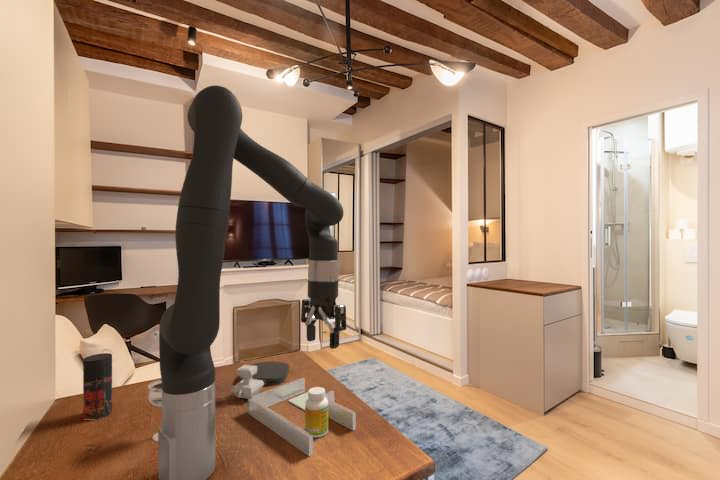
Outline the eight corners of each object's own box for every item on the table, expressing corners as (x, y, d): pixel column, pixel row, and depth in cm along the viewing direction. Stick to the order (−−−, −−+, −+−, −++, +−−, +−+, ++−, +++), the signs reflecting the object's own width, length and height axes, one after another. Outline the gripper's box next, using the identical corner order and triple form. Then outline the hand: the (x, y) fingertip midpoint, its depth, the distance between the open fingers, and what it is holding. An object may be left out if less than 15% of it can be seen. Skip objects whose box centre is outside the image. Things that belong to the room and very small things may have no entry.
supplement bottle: (324, 439, 76) (324, 396, 76) (301, 436, 77) (301, 394, 77) (331, 426, 81) (331, 386, 81) (310, 424, 82) (309, 384, 82)
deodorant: (78, 417, 86) (78, 358, 86) (104, 407, 91) (104, 352, 91) (90, 422, 83) (90, 362, 83) (116, 412, 88) (116, 355, 89)
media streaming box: (290, 368, 119) (290, 360, 119) (283, 386, 105) (283, 376, 105) (248, 369, 118) (248, 361, 118) (236, 387, 104) (236, 378, 104)
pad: (308, 412, 88) (308, 411, 88) (288, 401, 94) (288, 400, 94) (328, 403, 93) (328, 401, 93) (308, 393, 99) (308, 391, 99)
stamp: (249, 404, 92) (249, 374, 92) (228, 401, 94) (228, 371, 94) (266, 390, 101) (266, 362, 101) (247, 388, 103) (247, 360, 103)
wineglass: (151, 429, 80) (151, 379, 80) (183, 424, 82) (183, 375, 82) (144, 446, 74) (144, 391, 74) (179, 439, 76) (179, 386, 76)
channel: (309, 456, 70) (309, 437, 70) (247, 413, 88) (247, 397, 88) (366, 422, 83) (366, 406, 83) (303, 390, 101) (303, 377, 101)
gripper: (293, 277, 85) (292, 341, 85) (331, 281, 75) (330, 354, 75) (316, 275, 90) (315, 335, 90) (354, 279, 81) (353, 347, 80)
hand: (322, 344), depth 82 cm, fingers open, 8 cm apart
